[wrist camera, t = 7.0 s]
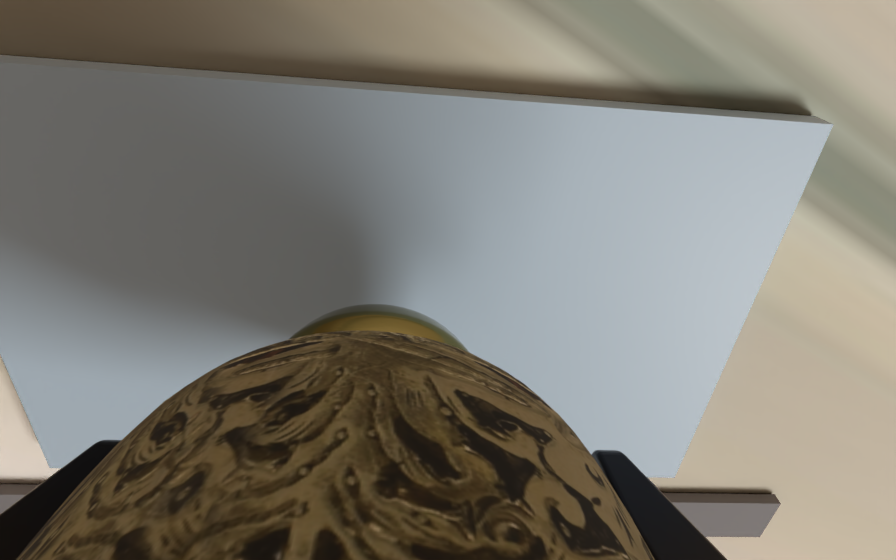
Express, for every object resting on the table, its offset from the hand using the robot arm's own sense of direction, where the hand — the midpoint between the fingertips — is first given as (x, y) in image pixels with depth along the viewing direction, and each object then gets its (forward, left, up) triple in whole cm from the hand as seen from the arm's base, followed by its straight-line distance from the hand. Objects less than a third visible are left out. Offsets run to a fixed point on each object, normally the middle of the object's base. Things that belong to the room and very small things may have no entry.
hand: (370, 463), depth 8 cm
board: (0, 0, -4) cm, 4 cm away
